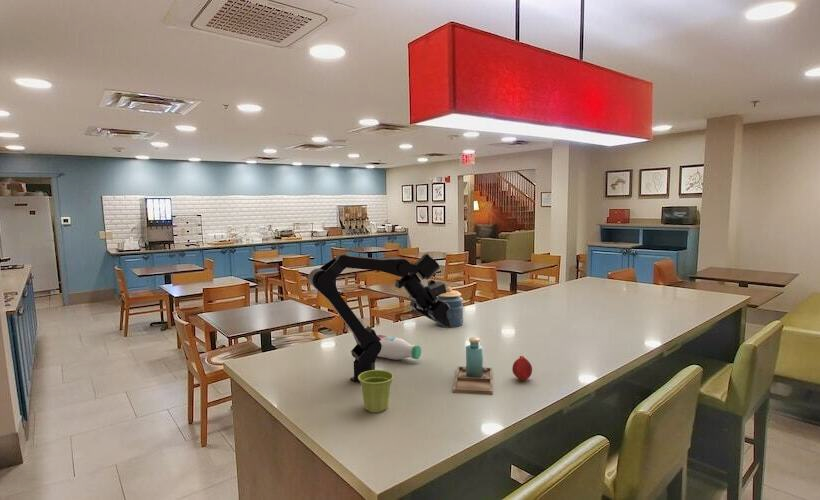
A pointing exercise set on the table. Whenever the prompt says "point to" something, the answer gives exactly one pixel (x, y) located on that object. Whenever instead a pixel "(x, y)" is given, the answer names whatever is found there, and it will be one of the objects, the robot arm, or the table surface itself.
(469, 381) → the double tray
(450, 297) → the canister
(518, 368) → the onion
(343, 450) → the table surface
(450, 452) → the table surface
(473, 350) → the bottle
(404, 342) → the milk bottle
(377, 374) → the plant pot
